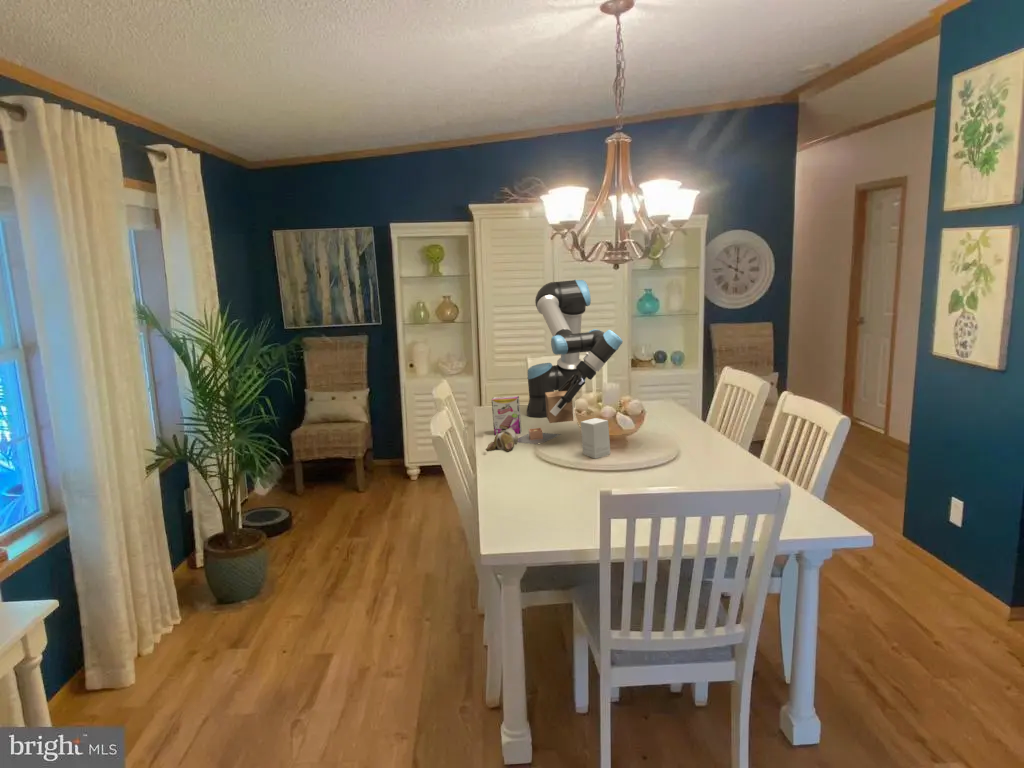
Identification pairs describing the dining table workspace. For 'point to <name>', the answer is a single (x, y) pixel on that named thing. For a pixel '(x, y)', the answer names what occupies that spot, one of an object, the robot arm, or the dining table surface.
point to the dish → (535, 434)
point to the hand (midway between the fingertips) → (550, 411)
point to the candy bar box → (506, 414)
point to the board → (545, 438)
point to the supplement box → (595, 437)
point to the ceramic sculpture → (504, 440)
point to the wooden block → (565, 412)
